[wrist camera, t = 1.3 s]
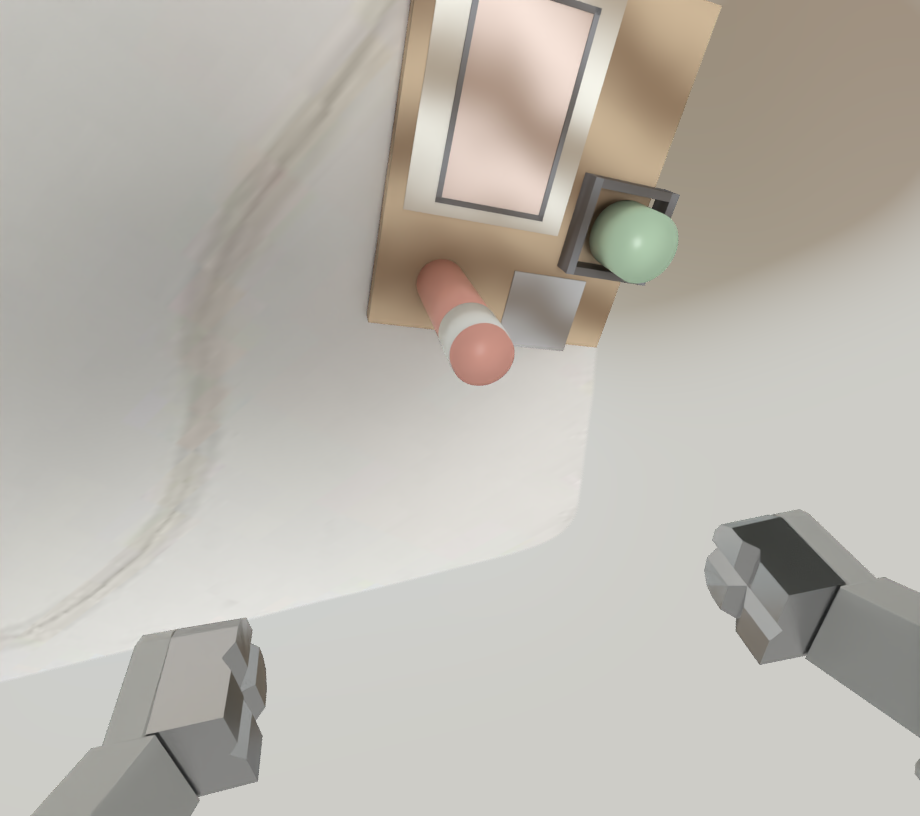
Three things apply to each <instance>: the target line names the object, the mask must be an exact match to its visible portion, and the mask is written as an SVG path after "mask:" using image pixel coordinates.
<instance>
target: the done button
mask: <svg viewBox="0 0 920 816" xmlns="http://www.w3.org/2000/svg"><path fill="white" fill-rule="evenodd" d="M589 245H590V250H591V253H592V255H593V257H594V258H595V259H596V260H597V261H598V262H599V263H600V264H602V265H603V266H604V267H606V268H607V269H609V270H610V271H611V272H613V273H614V274H616V275H617V276H618V277H620V278H621V279H623V280H624V281H626V282H629V283H635V284H638V283H645V282H648V281H650V280H652V279H654V278H656V277H657V276H658V275H660V274H661V273H662V272H663V271H664V270H665V269H666V268H667V267H668V266H669V264H670V263H671V261H672V260H673V258H674V256H675V253H676V250H677V246H678V231H677V228H676V226H675V224H674V222H673V221H672V220H671V219H670V218H669V217H668V216H667V215H665V214H663V213H660V212H658V211H656V210H654V209H652V208H649V207H647V206H645V205H643V204H641V203H638V202H636V201H633V200H621V201H618V202H615V203H613V204H611V205H609V206H608V207H607V208H605V209H604V210H603V211H602V212H601V213H600V214H599V216H598V217H597V218H596V220H595V222H594V224H593V226H592V228H591V232H590V237H589Z"/></svg>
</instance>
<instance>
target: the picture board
mask: <svg viewBox="0 0 920 816" xmlns="http://www.w3.org/2000/svg"><path fill="white" fill-rule="evenodd" d="M721 7H722V6H720V5H717V4H715V3H712V2H709V1H706V0H411V3H410V11H409V18H408V25H407V32H406V39H405V46H404V53H403V60H402V67H401V75H400V82H399V89H398V96H397V103H396V110H395V117H394V124H393V132H392V139H391V146H390V153H389V160H388V167H387V174H386V181H385V189H384V196H383V203H382V210H381V217H380V224H379V231H378V238H377V245H376V253H375V260H374V267H373V274H372V281H371V288H370V295H369V302H368V310H367V318H368V322H370V323H379V324H388V325H397V326H406V327H415V328H424V329H434V327H433V324H432V322H431V320H430V318H429V316H428V314H427V311H426V309H425V307H424V305H423V303H422V301H421V298H420V296H419V294H418V292H417V287H416V282H417V277H418V274H419V272H420V271H421V269H422V268H423V267H424V266H425V265H426V264H428V263H429V262H431V261H434V260H438V259H446V260H450V261H452V262H454V263H456V264H457V265H458V266H459V267H460V269H461V270H462V271H463V273H464V274H465V276H466V277H467V278H468V280H469V281H470V283H471V284H472V285H473V287H474V288H475V290H476V291H477V293H478V294H479V295H480V297H481V298H482V300H483V301H484V302H485V304H486V305H487V307H488V308H489V309H490V310H491V311H492V312H493V313H494V315H495V316H496V318H497V319H498V320H499V322H500V323H501V325H502V326H503V327H504V329H505V330H506V332H507V333H508V334H509V336H510V338H511V341H512V343H513V346H519V347H529V348H538V349H548V350H557V351H563V350H564V347H565V344H569V345H578V346H587V347H597V345H598V342H599V339H600V336H601V334H602V331H603V328H604V325H605V323H606V320H607V317H608V314H609V312H610V309H611V307H612V304H613V301H614V298H615V296H616V293H617V290H618V287H619V285H620V282H624V283H629V282H626V281H624V280H623V279H621V278H620V277H618V276H617V275H616V274H614V273H613V272H611V271H610V270H609V269H607V268H606V267H604V266H603V265H602V264H600V263H599V262H598V261H597V260H596V259H595V258H594V257H593V255H592V253H591V250H590V245H589V237H590V232H591V228H592V226H593V224H594V222H595V220H596V218H597V217H598V216H599V214H600V213H601V212H602V211H603V210H604V209H605V208H607V207H608V206H609V205H611V204H613V203H615V202H618V201H621V200H633V201H636V202H638V203H641V204H643V205H645V206H647V207H648V206H649V203H650V200H651V198H652V199H655V202H654V205H653V207H652V209H654V210H656V211H658V212H660V213H663V214H665V215H667V216H668V217H669V218H670V219H671V216H672V214H673V211H674V208H675V206H676V203H677V201H678V198H679V196H680V195H678V194H676V193H673V192H671V191H668V190H665V189H660V188H655V187H656V183H657V181H658V178H659V176H660V173H661V170H662V168H663V165H664V162H665V159H666V157H667V154H668V151H669V148H670V146H671V143H672V140H673V138H674V135H675V132H676V130H677V127H678V124H679V121H680V119H681V116H682V113H683V110H684V108H685V105H686V102H687V99H688V97H689V94H690V91H691V88H692V86H693V83H694V80H695V78H696V75H697V72H698V69H699V67H700V64H701V61H702V59H703V56H704V53H705V51H706V48H707V45H708V42H709V39H710V37H711V34H712V32H713V29H714V26H715V23H716V21H717V18H718V15H719V12H720V10H721ZM645 283H646V282H645ZM645 283H638V284H637V285H645ZM631 284H635V283H631ZM434 330H435V329H434Z"/></svg>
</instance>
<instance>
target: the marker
mask: <svg viewBox="0 0 920 816" xmlns="http://www.w3.org/2000/svg"><path fill="white" fill-rule="evenodd" d="M416 287H417V292H418V294H419V296H420V298H421V301H422V303H423V305H424V307H425V309H426V311H427V314H428V316H429V318H430V320H431V322H432V324H433V327H434V329H435V331H436V333H437V335H438V337H439V341H440V344H441V346H442V348H443V351H444V353H445V355H446V357H447V359H448V362H449V364H450V366H451V368H452V370H453V371H454V372H455V374H456V375H457V376H458V378H460V379H461V380H462V381H463V382H465V383H467V384H470V385H476V386H481V385H487V384H491V383H493V382H495V381H497V380H499V379H500V378H501V377H503V376H504V375H505V374H506V373H507V371H508V370H509V369H510V367H511V365H512V363H513V359H514V346H513V343H512V341H511V338H510V336H509V334H508V333H507V332H506V330H505V329H504V327H503V326H502V325H501V323H500V322H499V320H498V319H497V318H496V316H495V315H494V313H493V312H492V311H491V310H490V309H489V308H488V307H487V305H486V304H485V302H484V301H483V300H482V298H481V297H480V295H479V294H478V293H477V291H476V290H475V288H474V287H473V285H472V284H471V283H470V281H469V280H468V278H467V277H466V276H465V274H464V273H463V271H462V270H461V269H460V267H459V266H458V265H457V264H456V263H454V262H452V261H450V260H446V259H438V260H434V261H431V262H429V263H428V264H426V265H425V266H424V267H423V268H422V269H421V271H420V272H419V274H418V277H417V282H416Z"/></svg>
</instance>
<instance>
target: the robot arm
mask: <svg viewBox="0 0 920 816" xmlns="http://www.w3.org/2000/svg"><path fill="white" fill-rule="evenodd" d="M712 541H713V542H714V543H715V544H716V546H717V548H716V549H715V550H714V551H713V552H712V553H711V554H710V555H709V556H708V557H707V561H706V565H705V570H704V571H705V577H706V583H707V586H708V589H709V591H710V593H711V595H712V597H713V599H714V600H715V602H716V603H717V605H718V606H719V608H720V609H721V610H723V611H724V612H726V613H728V614H730V615H731V616H733V617H735V618H736V632H737V634H738V635H739V636H740V638H741V639H742V641H743V642H744V643H745V645H746V646H747V647H748V649H749V651H750V652H751V653H752V655H753V656H754V658H755V659H756V660H757V661H758V663H759V664H760V665H761V664H766V663H771V662H776V661H781V660H786V659H791V658H796V657H801V656H806V655H807V656H806V658H805V659H807V660H808V661H810V662H811V663H813V664H814V665H816V666H817V667H819V668H820V669H821V670H823V671H824V672H826V673H827V674H829V675H830V676H832V677H833V678H834V679H836V680H837V681H839V682H840V683H842V684H843V685H844V686H846V687H847V688H849V689H850V690H852V691H853V692H855V693H856V694H858V695H859V696H860V697H862V698H863V699H865V700H866V701H868V702H869V703H871V704H872V705H873V706H875V707H876V708H878V709H879V710H881V711H882V712H883V713H885V714H886V715H888V716H889V717H891V718H892V719H894V720H895V721H897V722H898V723H900V724H901V725H902V726H904V727H905V728H907V729H908V730H909V731H911V732H912V733H914V734H915V735H917V736H918V737H920V593H919V592H917V591H914V590H912V589H910V588H908V587H906V586H903V585H901V584H899V583H897V582H895V581H892V580H890V579H888V578H886V577H882V578H875V577H874V576H873V575H872V574H871V573H870V572H869V571H868V570H867V569H866V568H865V567H864V566H863V565H862V564H861V563H860V562H859V561H858V560H857V559H856V558H854V557H853V555H852V554H851V553H849V552H848V551H847V550H846V549H845V548H844V547H843V546H842V545H841V544H840V543H839V542H838V541H837V540H836V539H835V538H834V537H833V536H832V535H831V534H830V533H829V532H828V531H827V530H825V529H824V528H823V527H822V526H821V525H820V524H819V523H818V522H817V521H816V520H815V519H814V518H813V517H812V516H811V515H810V514H808V513H806V512H804V511H802V510H794V511H789V512H783V513H778V514H773V515H765V516H760V517H755V518H750V519H746V520H741V521H736V522H731V523H727V524H722V525H720V526H719V527H718V528H717V529H716V530H715V532H714V536H713V539H712ZM251 638H252V629H251V626H250V624H249V622H248V620H247V618H240V619H234V620H228V621H222V622H216V623H210V624H204V625H198V626H193V627H187V628H181V629H175V630H170V631H164V632H159V633H153V634H148V635H143V636H142V637H141V639H140V640H139V641H138V643H137V644H136V646H135V647H134V650H133V653H132V656H131V659H130V663H129V666H128V669H127V672H126V675H125V678H124V681H123V684H122V687H121V690H120V693H119V696H118V699H117V702H116V705H115V708H114V711H113V714H112V717H111V720H110V723H109V726H108V729H107V733H106V735H105V738H104V741H103V744H102V746H99V747H95V748H91V749H90V750H89V751H88V752H87V753H86V755H85V756H84V757H83V758H82V759H81V760H80V761H79V762H78V763H77V765H76V766H75V767H74V768H73V769H72V770H71V771H70V772H69V773H68V775H67V776H66V777H65V778H64V779H63V780H62V781H61V782H60V784H59V785H58V786H57V787H56V788H55V789H54V790H53V792H51V794H50V795H49V796H48V797H47V798H46V799H45V800H44V801H43V803H42V804H41V805H40V806H39V807H38V808H37V809H36V810H35V811H34V813H33V814H32V815H31V816H191V814H192V813H193V811H194V809H195V808H196V806H197V804H198V802H199V798H198V797H200V796H204V795H208V794H211V793H215V792H219V791H223V790H226V789H231V788H234V787H238V786H242V785H246V784H250V783H254V782H257V781H258V775H259V764H260V755H261V746H262V734H261V731H260V729H259V727H258V725H257V723H256V719H257V718H258V717H259V715H260V714H261V712H262V711H263V710H264V708H265V703H266V692H267V683H266V668H265V664H264V658H263V655H262V653H261V650H260V648H259V647H258V646H256V645H254V644H251ZM915 775H916V776H917V777H918V778H919V780H920V759H919V760H918V761H917V763H916V765H915Z"/></svg>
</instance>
